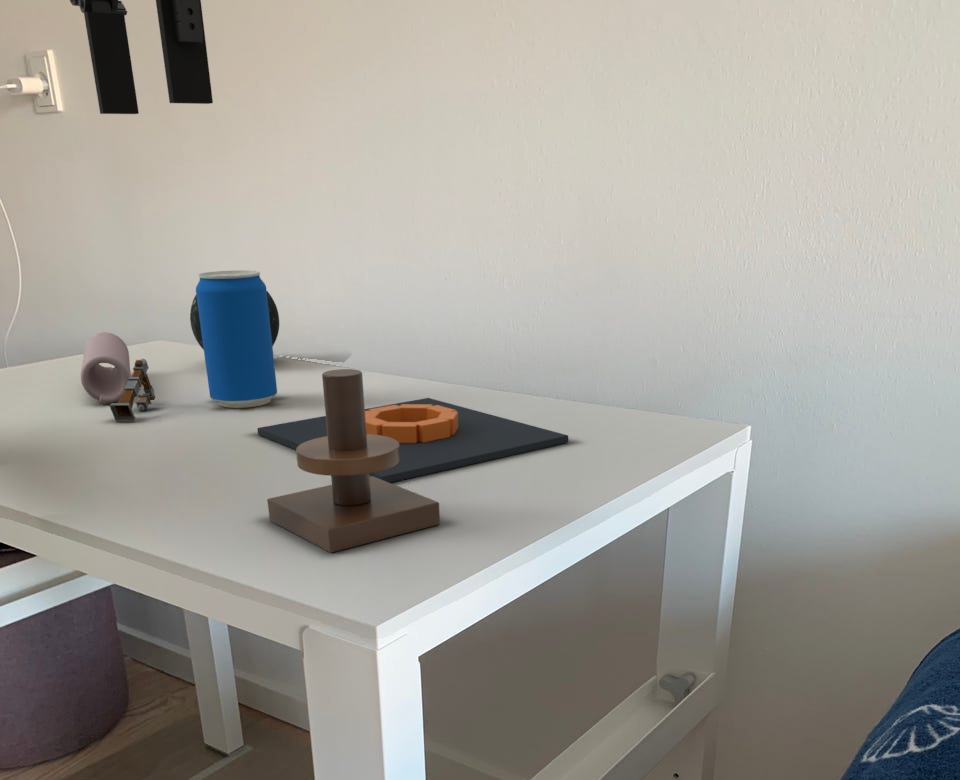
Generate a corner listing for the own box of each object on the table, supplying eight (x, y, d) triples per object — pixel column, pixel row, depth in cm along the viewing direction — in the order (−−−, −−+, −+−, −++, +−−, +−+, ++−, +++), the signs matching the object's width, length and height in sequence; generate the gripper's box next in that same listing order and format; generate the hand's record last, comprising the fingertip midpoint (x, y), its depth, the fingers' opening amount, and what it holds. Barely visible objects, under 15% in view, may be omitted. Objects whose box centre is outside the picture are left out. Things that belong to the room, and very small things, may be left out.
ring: (343, 430, 85) (341, 414, 84) (420, 415, 89) (420, 400, 88) (395, 448, 79) (394, 430, 78) (475, 431, 83) (475, 415, 83)
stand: (269, 520, 65) (251, 372, 61) (373, 496, 69) (363, 356, 65) (330, 553, 59) (316, 391, 55) (440, 524, 64) (434, 372, 60)
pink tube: (79, 335, 112) (73, 361, 96) (122, 328, 113) (123, 352, 97) (92, 377, 114) (88, 408, 98) (133, 369, 115) (136, 399, 100)
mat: (257, 434, 86) (256, 427, 86) (428, 403, 96) (428, 397, 96) (382, 484, 72) (381, 476, 72) (568, 442, 82) (568, 435, 82)
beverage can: (288, 403, 98) (275, 273, 93) (225, 412, 95) (208, 278, 89) (262, 392, 103) (248, 268, 97) (201, 401, 99) (183, 273, 94)
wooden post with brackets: (164, 392, 99) (150, 352, 96) (142, 443, 94) (127, 403, 91) (146, 392, 99) (132, 352, 96) (124, 443, 94) (108, 403, 91)
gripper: (241, -339, 55) (282, 98, 64) (92, -210, 73) (140, 117, 82) (106, -377, 51) (170, 96, 60) (-17, -230, 69) (46, 116, 78)
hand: (153, 109), depth 71 cm, fingers open, 13 cm apart
